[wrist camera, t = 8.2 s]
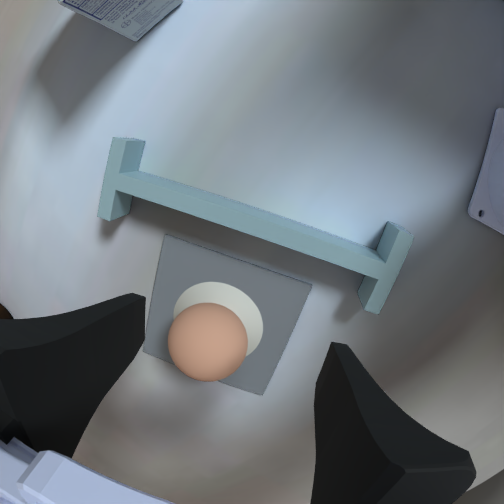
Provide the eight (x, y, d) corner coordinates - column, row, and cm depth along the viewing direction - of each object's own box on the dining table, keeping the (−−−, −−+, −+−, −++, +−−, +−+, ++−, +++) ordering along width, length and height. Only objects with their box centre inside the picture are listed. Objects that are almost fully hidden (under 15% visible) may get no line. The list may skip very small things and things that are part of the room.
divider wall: (401, 226, 18) (414, 236, 16) (370, 297, 20) (378, 314, 18) (132, 138, 19) (112, 137, 17) (117, 209, 21) (97, 216, 18)
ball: (252, 291, 21) (242, 332, 16) (251, 354, 22) (243, 401, 18) (177, 287, 21) (150, 323, 17) (183, 348, 23) (163, 391, 18)
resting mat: (311, 284, 20) (312, 286, 20) (262, 393, 24) (262, 395, 23) (166, 233, 21) (164, 234, 20) (144, 349, 24) (142, 351, 24)
